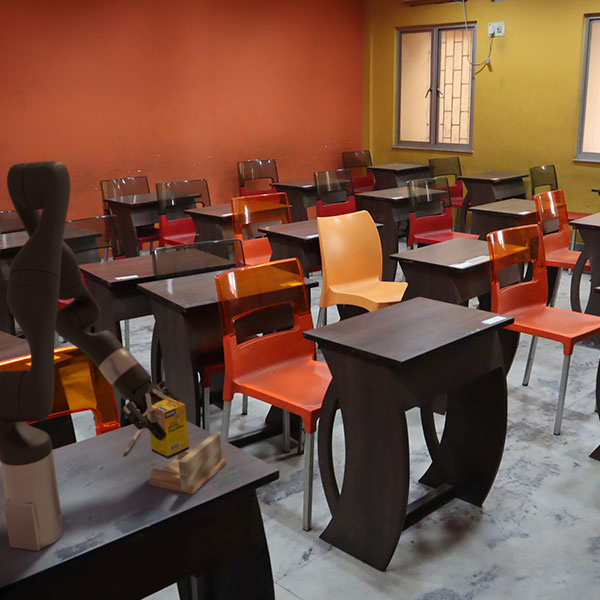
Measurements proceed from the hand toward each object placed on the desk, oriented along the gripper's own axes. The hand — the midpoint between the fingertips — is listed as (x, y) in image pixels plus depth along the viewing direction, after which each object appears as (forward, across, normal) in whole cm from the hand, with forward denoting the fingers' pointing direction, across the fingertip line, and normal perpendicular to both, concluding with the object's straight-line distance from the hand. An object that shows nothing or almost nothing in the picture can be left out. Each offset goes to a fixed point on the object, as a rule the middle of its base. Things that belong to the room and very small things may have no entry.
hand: (174, 430), depth 164 cm
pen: (-5, +9, +20) cm, 23 cm away
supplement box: (+3, 0, +5) cm, 6 cm away
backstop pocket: (+8, 0, +6) cm, 10 cm away
